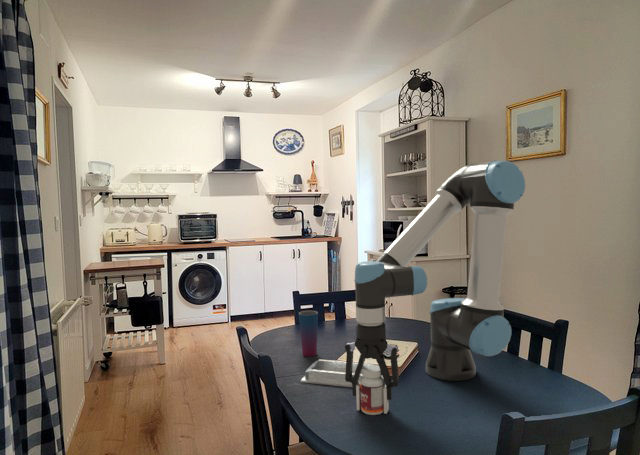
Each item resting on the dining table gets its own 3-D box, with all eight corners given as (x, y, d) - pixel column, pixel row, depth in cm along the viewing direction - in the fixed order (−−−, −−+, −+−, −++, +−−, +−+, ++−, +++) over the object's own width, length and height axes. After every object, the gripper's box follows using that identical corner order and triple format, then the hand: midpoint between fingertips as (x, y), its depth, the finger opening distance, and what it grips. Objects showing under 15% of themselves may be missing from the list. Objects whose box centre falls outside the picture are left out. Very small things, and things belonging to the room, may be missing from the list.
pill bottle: (357, 408, 122) (355, 366, 122) (377, 403, 125) (376, 362, 124) (368, 417, 117) (367, 373, 116) (389, 412, 119) (388, 369, 118)
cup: (297, 356, 165) (295, 314, 164) (304, 350, 171) (303, 310, 170) (314, 358, 162) (313, 315, 161) (321, 352, 168) (320, 311, 168)
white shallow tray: (387, 372, 147) (387, 362, 147) (378, 390, 133) (378, 379, 133) (315, 366, 154) (315, 357, 154) (300, 382, 141) (300, 372, 141)
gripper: (410, 320, 120) (412, 407, 121) (338, 316, 126) (340, 399, 127) (406, 328, 113) (408, 420, 114) (330, 323, 119) (332, 411, 120)
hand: (372, 409), depth 121 cm, fingers open, 6 cm apart
